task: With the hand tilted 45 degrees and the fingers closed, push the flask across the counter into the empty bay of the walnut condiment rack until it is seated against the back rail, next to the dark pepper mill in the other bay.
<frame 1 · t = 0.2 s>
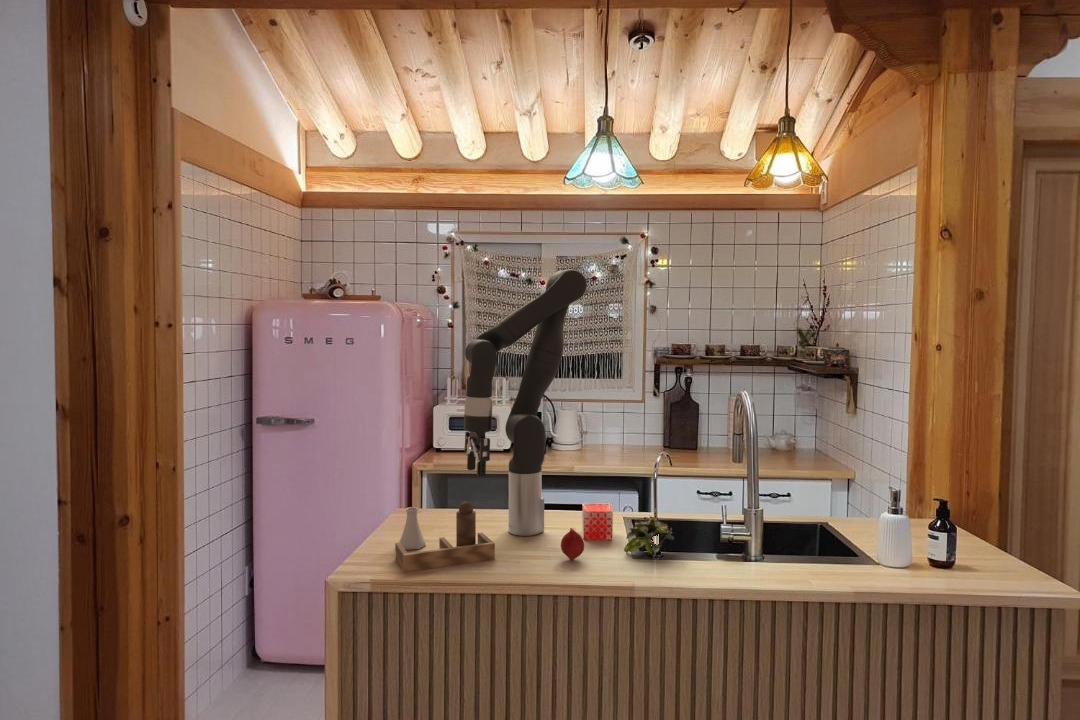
hand: (475, 472, 189), 18 cm above the worktop, tool pointing down, fingers open, 8 cm apart
green leafy plant: (649, 555, 177), on the worktop
red patterned cube: (597, 536, 192), on the worktop
onion: (572, 560, 173), on the worktop
rack: (444, 558, 173), on the worktop
flask: (412, 546, 183), on the worktop
pepper mill: (466, 555, 175), on the worktop
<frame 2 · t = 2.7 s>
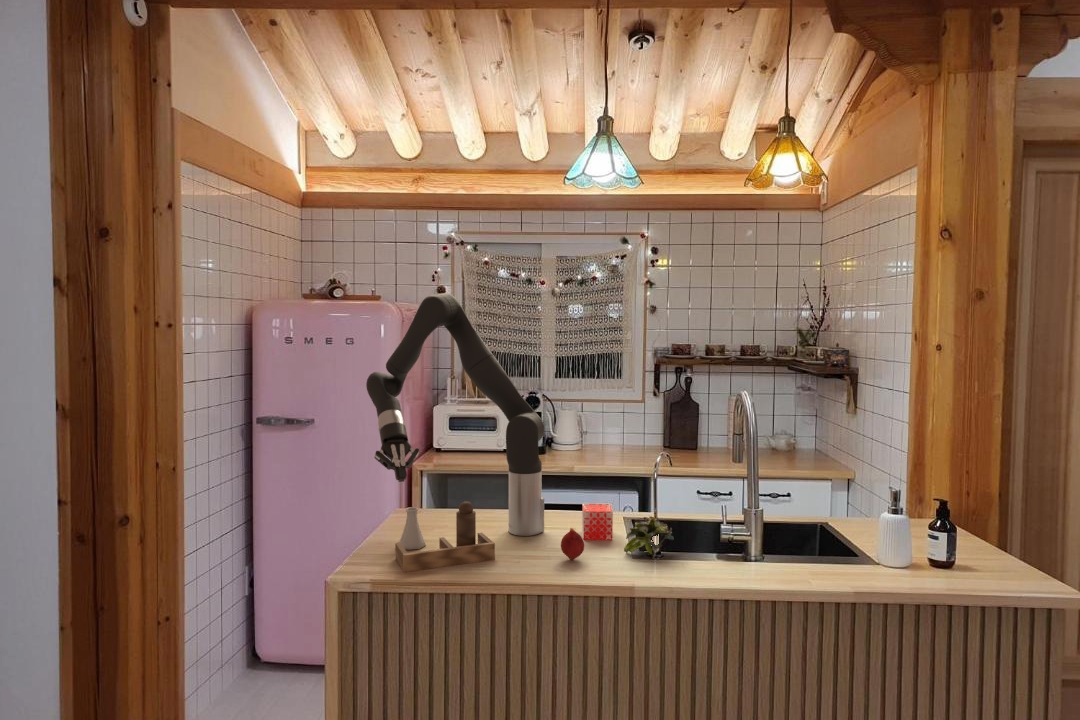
hand: (402, 480, 192), 15 cm above the worktop, tool tilted 45°, fingers closed
nothing on the worktop moved.
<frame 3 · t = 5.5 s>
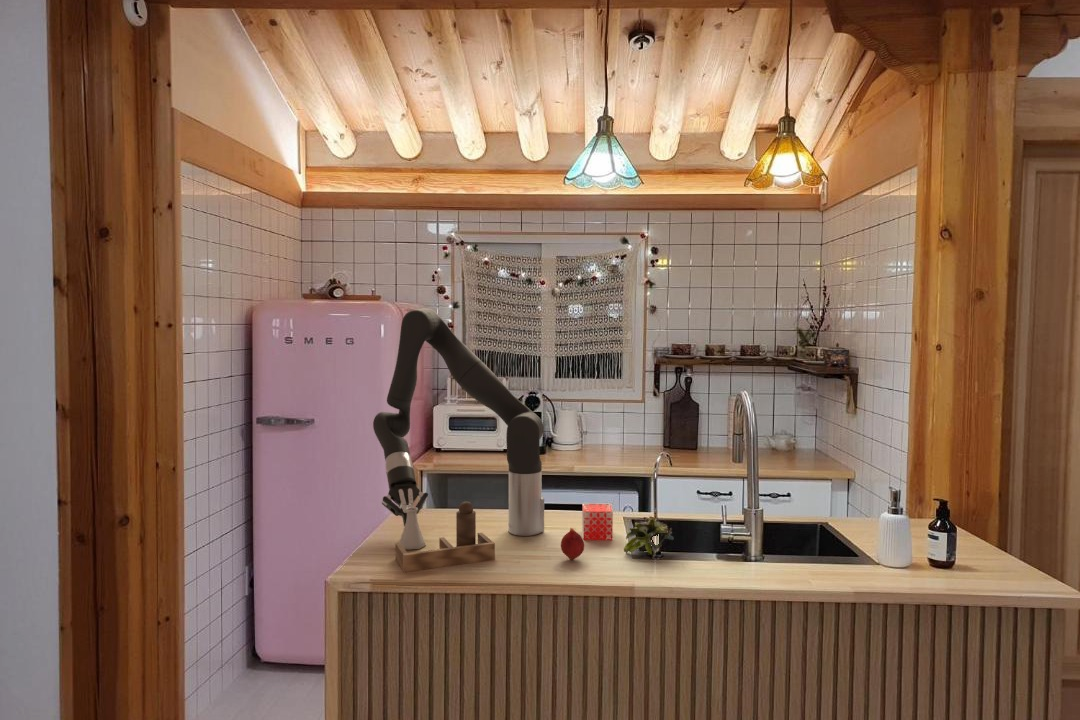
hand: (410, 527, 184), 4 cm above the worktop, tool tilted 45°, fingers closed
flask: (412, 546, 183), on the worktop, touching gripper
everything else where it was.
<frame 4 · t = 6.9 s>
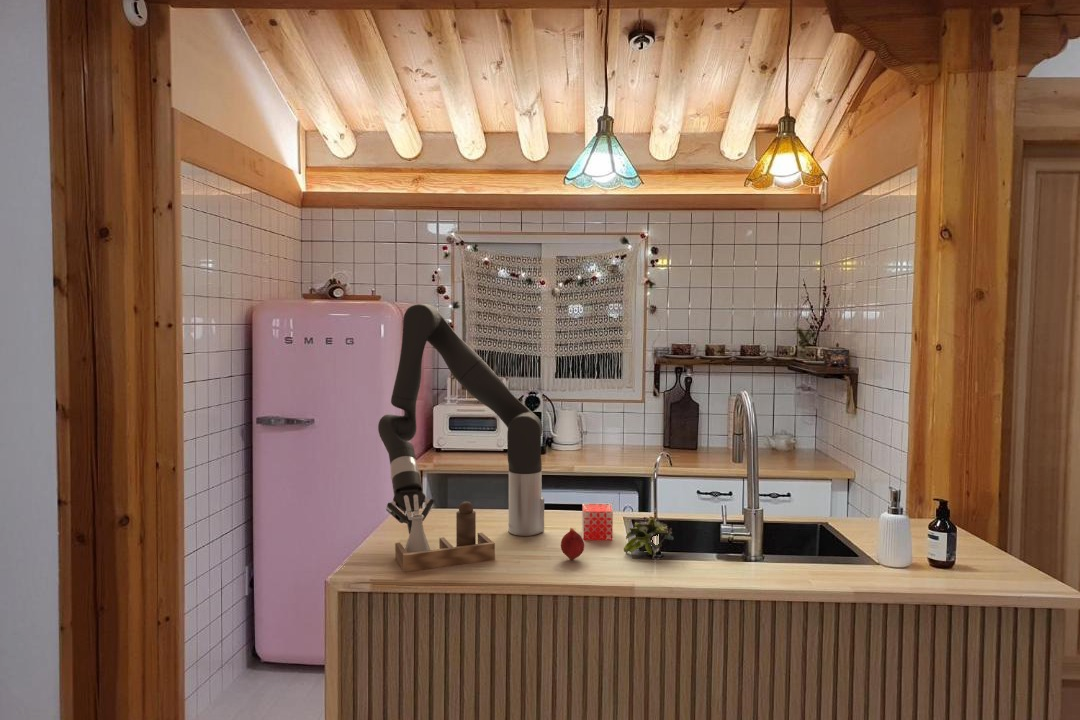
hand: (415, 535, 177), 4 cm above the worktop, tool tilted 45°, fingers closed
flask: (417, 555, 176), on the worktop, touching gripper
everything else where it was.
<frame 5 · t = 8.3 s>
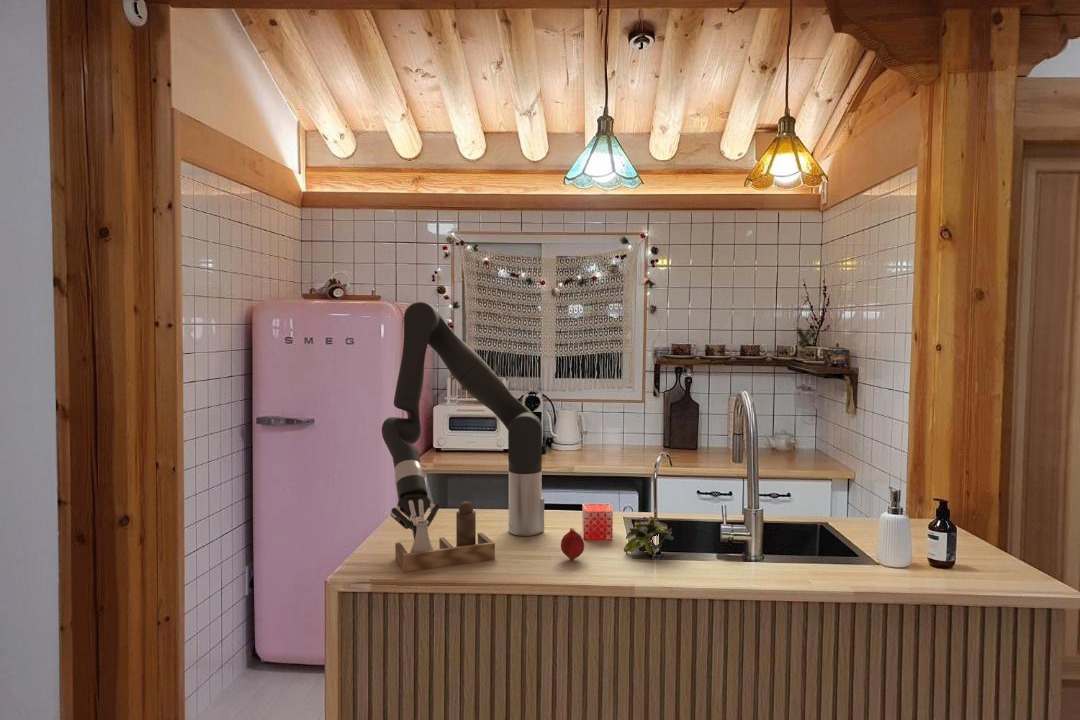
hand: (420, 541, 172), 4 cm above the worktop, tool tilted 45°, fingers closed
flask: (422, 562, 171), on the worktop, touching gripper
everything else where it was.
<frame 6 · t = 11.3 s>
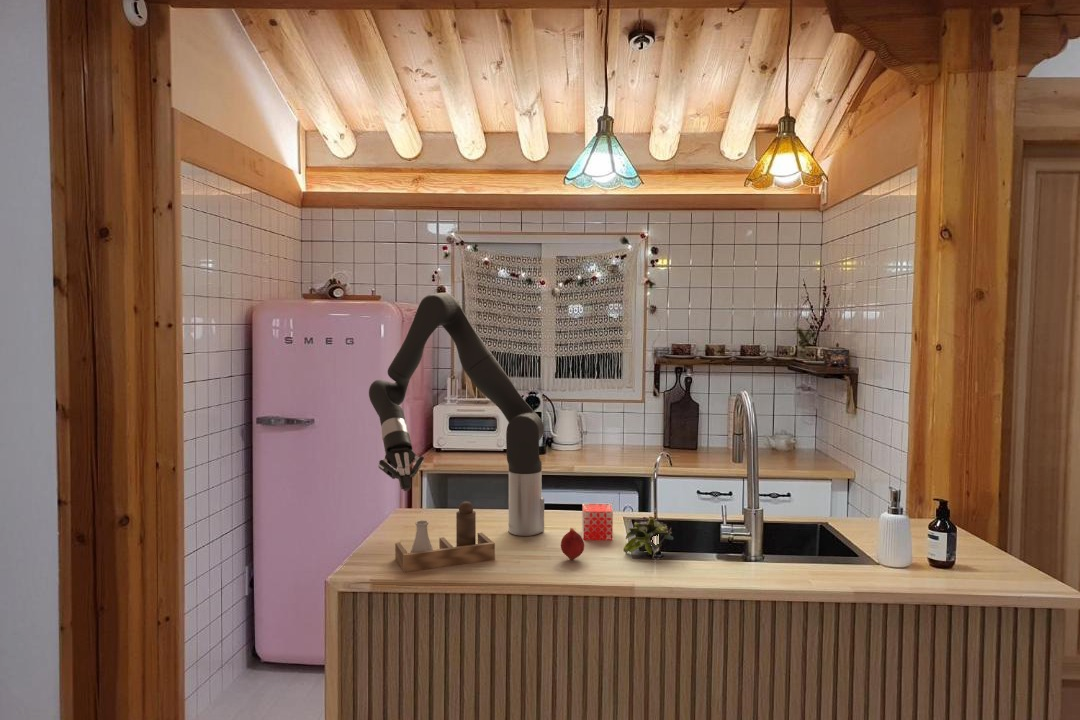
hand: (407, 489, 188), 14 cm above the worktop, tool tilted 45°, fingers closed
flask: (422, 563, 171), on the worktop
everything else where it was.
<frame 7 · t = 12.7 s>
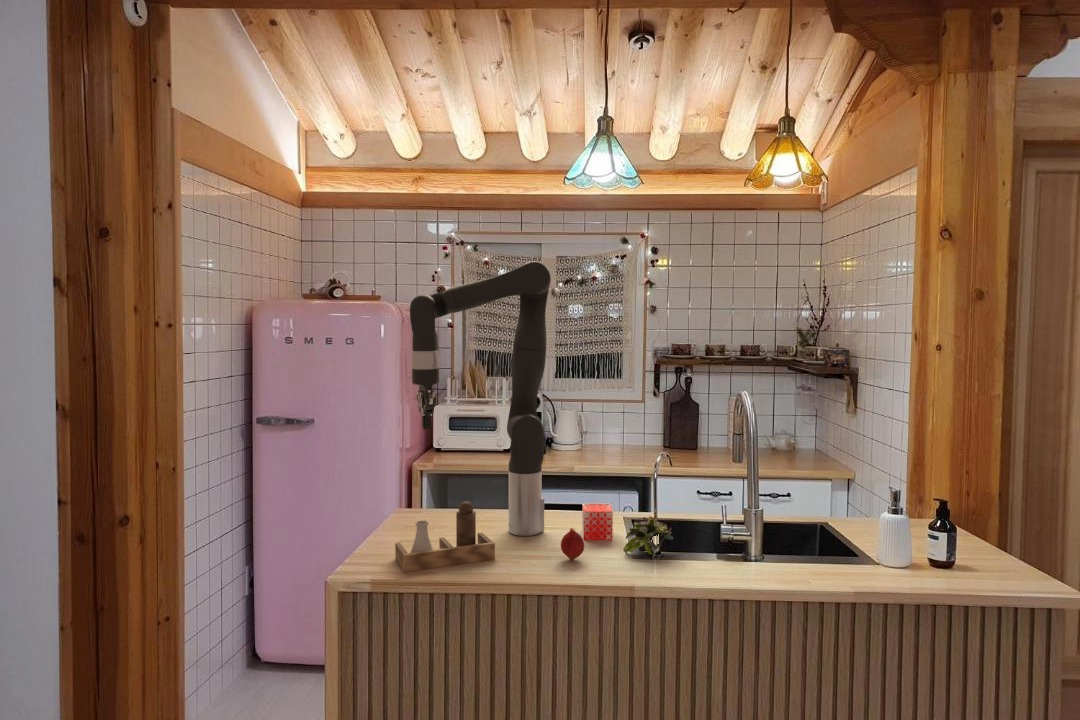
hand: (426, 428, 195), 29 cm above the worktop, tool pointing down, fingers closed
nothing on the worktop moved.
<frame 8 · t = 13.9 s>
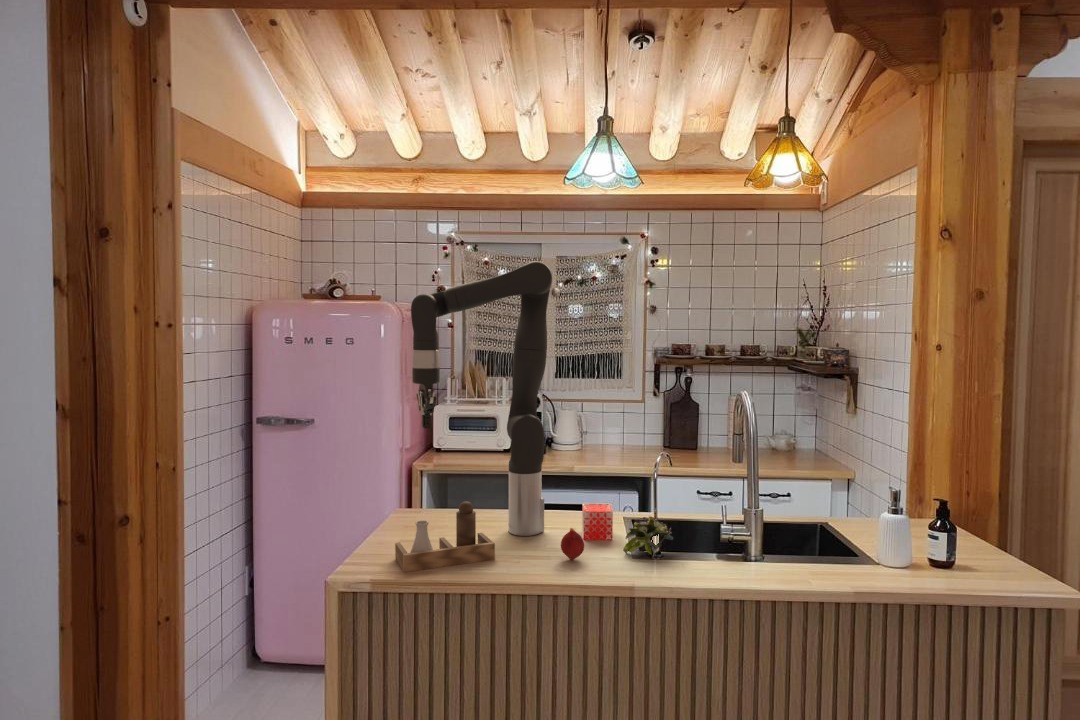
hand: (426, 427, 195), 29 cm above the worktop, tool pointing down, fingers closed
nothing on the worktop moved.
at the end: flask 0.9 cm from the target spot, on the worktop; flask tilted 0°; pepper mill moved 0.0 cm from its start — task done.
